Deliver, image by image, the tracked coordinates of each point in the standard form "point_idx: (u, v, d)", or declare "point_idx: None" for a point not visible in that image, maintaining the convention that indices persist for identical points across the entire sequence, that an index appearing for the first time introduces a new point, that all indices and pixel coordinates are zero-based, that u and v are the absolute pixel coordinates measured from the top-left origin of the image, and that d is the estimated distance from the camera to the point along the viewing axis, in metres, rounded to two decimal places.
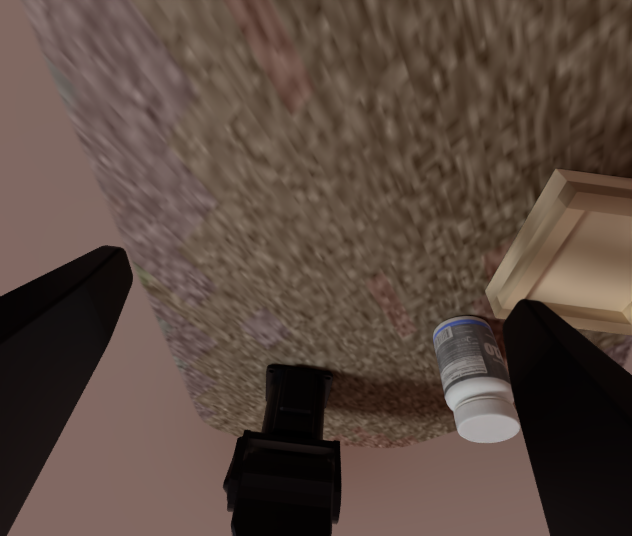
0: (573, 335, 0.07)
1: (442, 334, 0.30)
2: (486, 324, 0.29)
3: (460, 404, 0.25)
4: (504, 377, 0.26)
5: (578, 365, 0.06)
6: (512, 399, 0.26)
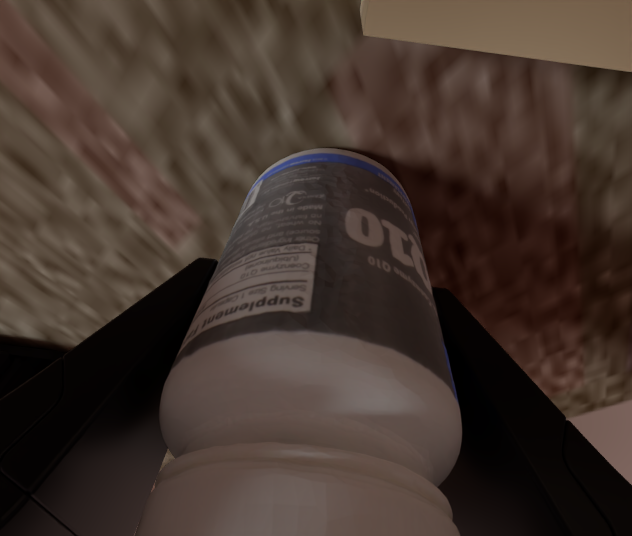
0: (467, 322, 0.07)
1: (241, 210, 0.09)
2: (387, 174, 0.09)
3: (155, 483, 0.05)
4: (405, 338, 0.05)
5: (462, 351, 0.06)
6: (447, 451, 0.05)
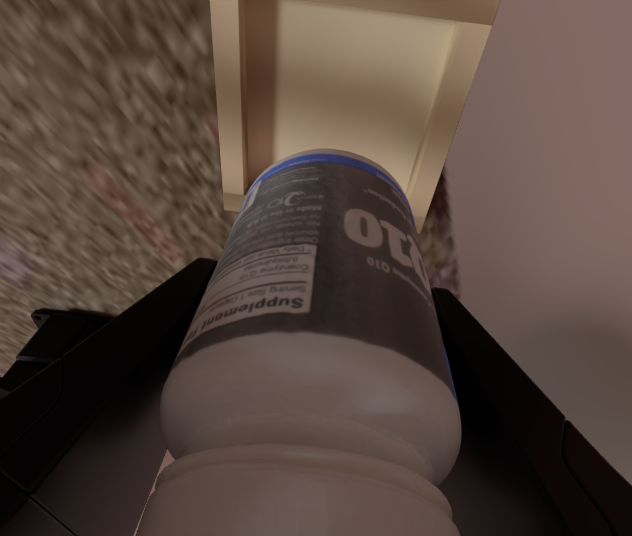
0: (467, 322, 0.07)
1: (239, 211, 0.09)
2: (385, 174, 0.09)
3: (155, 485, 0.05)
4: (404, 338, 0.05)
5: (462, 350, 0.06)
6: (446, 451, 0.05)
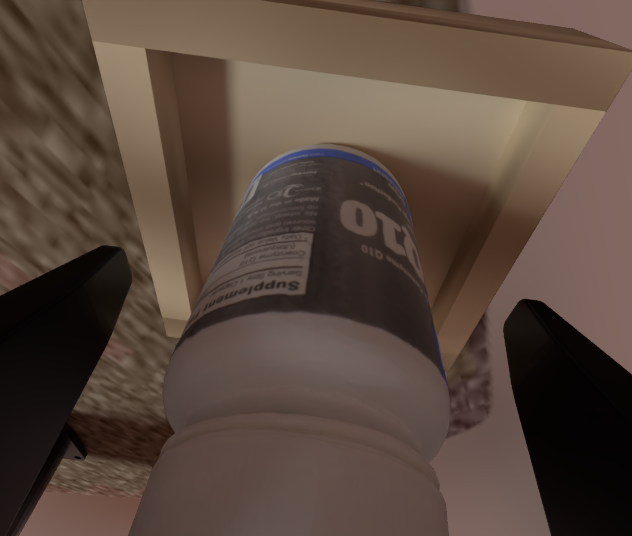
0: (573, 336, 0.07)
1: (241, 204, 0.09)
2: (382, 169, 0.09)
3: (160, 455, 0.05)
4: (395, 319, 0.05)
5: (579, 365, 0.06)
6: (435, 427, 0.05)
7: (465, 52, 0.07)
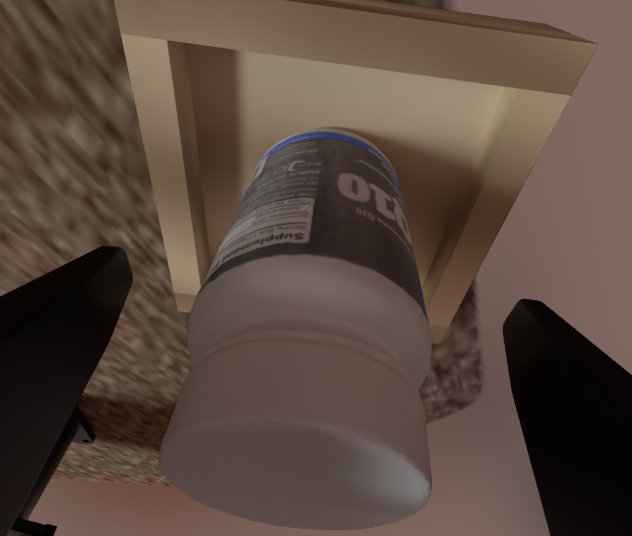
0: (573, 336, 0.07)
1: (249, 182, 0.10)
2: (375, 150, 0.10)
3: None
4: (383, 264, 0.06)
5: (578, 365, 0.06)
6: (417, 355, 0.06)
7: (446, 43, 0.08)
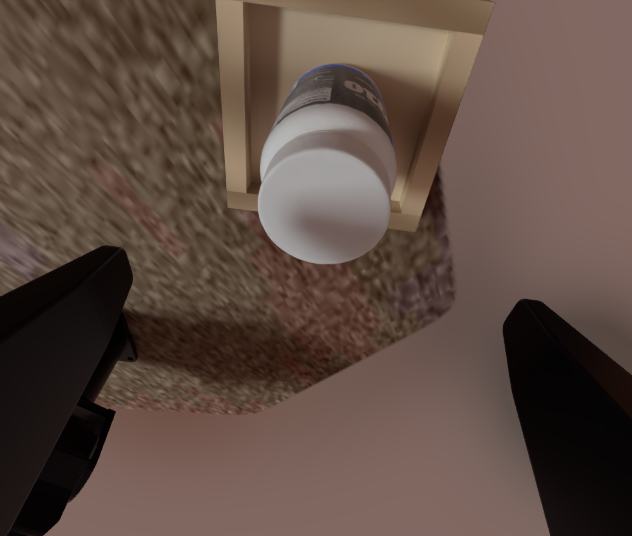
0: (573, 336, 0.07)
1: None
2: (368, 77, 0.15)
3: None
4: (369, 113, 0.12)
5: (578, 365, 0.06)
6: (387, 163, 0.12)
7: (407, 2, 0.13)
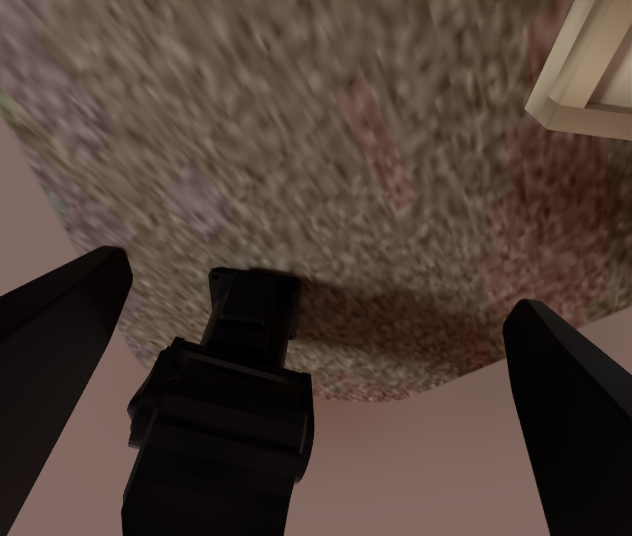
0: (573, 335, 0.07)
1: None
2: None
3: None
4: None
5: (578, 365, 0.06)
6: None
7: None
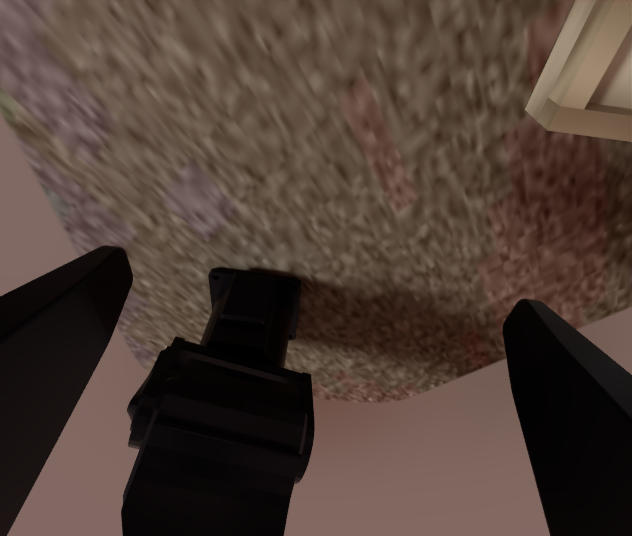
0: (573, 336, 0.07)
1: None
2: None
3: None
4: None
5: (578, 365, 0.06)
6: None
7: None
